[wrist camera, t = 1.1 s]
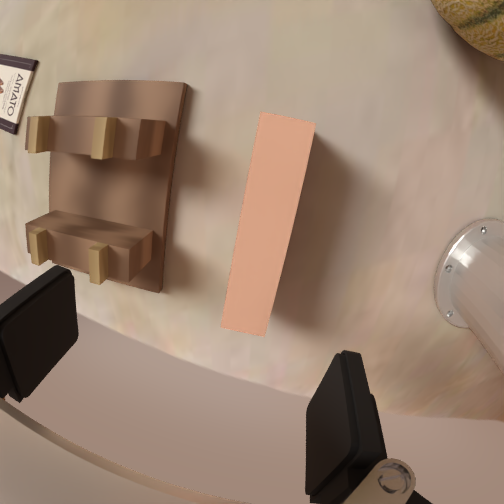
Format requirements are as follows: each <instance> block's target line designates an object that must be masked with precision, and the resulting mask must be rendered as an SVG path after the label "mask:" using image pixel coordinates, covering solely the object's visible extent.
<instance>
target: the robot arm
mask: <svg viewBox="0 0 504 504" xmlns="http://www.w3.org/2000/svg"><path fill="white" fill-rule="evenodd" d="M434 296H435V301H436V305H437V307H438V309H439V311H440V313H441V314H442V316H443V317H444V318H445V319H446V320H447V321H448V322H449V323H450V324H452V325H454V326H457V327H462V328H470V329H471V330H472V331H473V333H474V334H475V335H476V337H477V338H478V339H479V341H480V342H481V343H482V345H483V346H484V348H485V349H486V350H487V352H488V353H489V355H490V356H491V357H492V359H493V360H494V362H495V363H496V365H497V366H498V368H499V369H500V371H501V372H502V374H503V375H504V222H502V221H500V220H498V219H490V218H489V219H482V220H479V221H477V222H474V223H472V224H471V225H469V226H467V227H466V228H464V229H463V230H462V231H461V232H460V233H459V234H458V235H457V236H456V237H455V238H454V239H453V241H452V242H451V243H450V244H449V246H448V247H447V249H446V251H445V253H444V254H443V256H442V258H441V261H440V263H439V266H438V269H437V273H436V276H435V284H434ZM77 339H78V324H77V313H76V300H75V284H74V277H73V275H72V273H71V271H70V270H69V269H66V268H64V267H61V266H59V265H56V266H54V267H52V268H51V269H49V270H48V271H46V272H45V273H43V274H42V275H41V276H39V277H38V278H36V279H35V280H33V281H32V282H31V283H29V284H28V285H26V286H25V287H24V288H22V289H21V290H19V291H18V292H17V293H15V294H14V295H13V296H11V297H10V298H9V299H7V300H6V301H5V302H4V303H2V304H1V305H0V504H250V503H245V502H239V501H235V500H229V499H225V498H221V497H217V496H212V495H208V494H204V493H201V492H197V491H193V490H190V489H186V488H182V487H180V486H176V485H173V484H170V483H167V482H164V481H161V480H158V479H155V478H152V477H149V476H147V475H144V474H141V473H139V472H136V471H134V470H131V469H128V468H126V467H123V466H121V465H119V464H117V463H114V462H112V461H110V460H107V459H105V458H103V457H101V456H99V455H97V454H94V453H92V452H90V451H88V450H86V449H84V448H82V447H80V446H78V445H76V444H74V443H73V442H71V441H68V440H67V439H65V438H63V437H61V436H60V435H58V434H56V433H54V432H53V431H51V430H49V429H48V428H46V427H44V426H42V425H41V424H39V423H38V422H36V421H34V420H33V419H31V418H30V417H28V416H27V415H25V414H24V413H22V412H21V411H19V410H17V409H16V408H15V407H13V406H12V405H10V404H9V403H7V402H6V401H5V396H6V395H7V394H9V396H10V397H12V398H13V399H15V400H16V401H18V402H19V403H20V402H21V401H22V399H23V398H24V397H25V398H26V397H28V396H30V394H31V393H32V392H33V391H34V389H35V388H36V387H37V386H38V385H39V384H40V382H41V381H42V380H43V379H44V378H45V377H46V375H47V374H48V373H49V372H50V371H51V369H52V368H53V367H54V366H55V365H56V364H57V363H58V361H59V360H60V359H61V358H62V357H63V356H64V355H65V354H66V352H67V351H68V350H69V349H70V348H71V347H72V346H73V345H74V343H75V342H76V341H77ZM415 483H416V478H415V476H414V473H413V471H412V469H411V468H410V467H409V466H408V465H407V464H406V463H404V462H402V461H401V460H398V459H393V458H391V459H387V453H386V449H385V443H384V438H383V433H382V429H381V424H380V419H379V415H378V410H377V406H376V401H375V398H374V396H373V395H372V394H370V390H369V386H368V382H367V378H366V373H365V369H364V365H363V361H362V357H361V354H360V353H356V352H351V351H346V350H343V351H342V352H341V354H339V353H337V354H336V355H335V356H334V358H333V360H332V362H331V364H330V366H329V368H328V370H327V372H326V374H325V375H324V377H323V379H322V381H321V383H320V385H319V387H318V388H317V390H316V392H315V394H314V396H313V397H312V399H311V401H310V403H309V405H308V407H307V412H306V481H305V492H306V495H310V503H316V504H432V503H431V502H429V501H428V500H426V499H425V498H424V497H423V496H421V495H420V494H419V493H417V492H416V491H415V490H414V487H415Z"/></svg>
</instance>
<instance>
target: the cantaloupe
mask: <svg viewBox="0 0 504 504" xmlns="http://www.w3.org/2000/svg"><path fill="white" fill-rule="evenodd" d="M431 1H432V3H433V5H434V6H435V8H436V10H437V12H438V13H439V14H440V15H441V17H442V18H443V19H444V20H445V21H446V22H447V23H449V24H450V25H451V26H452V28H453V29H454V31H455V32H456V33H457V34H459V35H460V36H461V37H462V38H463V39H464V40H465V41H467V42H468V43H469V44H470V45H471V46H473V47H474V48H476V49H477V50H479V51H481V52H483V53H485V54H487V55H488V56H491V57H493V58H494V59H498V60H500V61H503V62H504V0H431Z"/></svg>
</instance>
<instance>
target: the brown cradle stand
mask: <svg viewBox="0 0 504 504" xmlns="http://www.w3.org/2000/svg"><path fill="white" fill-rule="evenodd" d="M186 89H187V84H186V83H181V82H166V81H142V80H101V81H78V82H63V83H59V85H58V91H57V97H56V104H55V111H54V116H35V117H28V120H27V130H26V143H25V150H28V153H40V152H45V151H51V153H50V174H49V213H48V214H45V215H43V216H41V217H39V218H37V219H34V220H32V221H30V222H28V223H26V224H25V225H26V238H27V249H28V253H30V254H31V260H32V263H33V264H36V265H38V266H39V265H41V264H42V263H44V262H45V261H47V260H48V259H49V260H52V263H54V264H58V265H61V266H64V267H67V268H70V269H74V270H77V271H80V272H84V273H87V274H90V282H91V283H94V284H98V285H101V284H102V283H103V282H104V281H105V280H106V279H108V280H111V281H115V282H118V283H122V284H126V285H129V286H133V287H137V288H141V289H144V290H148V291H152V292H156V293H159V292H160V291H161V290H162V284H163V268H164V254H165V242H166V231H167V220H168V210H169V201H170V192H171V184H172V176H173V169H174V161H175V154H176V147H177V141H178V134H179V128H180V122H181V116H182V110H183V105H184V99H185V94H186Z"/></svg>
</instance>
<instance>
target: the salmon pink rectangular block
mask: <svg viewBox="0 0 504 504" xmlns="http://www.w3.org/2000/svg"><path fill="white" fill-rule="evenodd" d="M315 126H316V123H312V122H308V121H304V120H299V119H295V118H290V117H285V116H281V115H276V114H270V113H265V112H260V117H259V122H258V127H257V132H256V137H255V142H254V148H253V153H252V158H251V163H250V168H249V173H248V178H247V184H246V189H245V194H244V200H243V205H242V210H241V216H240V221H239V226H238V232H237V237H236V243H235V248H234V254H233V259H232V265H231V270H230V276H229V282H228V287H227V293H226V299H225V305H224V310H223V316H222V322H221V328H226V329H230V330H235V331H239V332H244V333H249V334H253V335H258V336H263V337H265V333H266V329H267V326H268V322H269V318H270V314H271V311H272V307H273V303H274V299H275V295H276V291H277V288H278V284H279V280H280V276H281V272H282V268H283V264H284V260H285V256H286V252H287V248H288V244H289V240H290V236H291V232H292V228H293V223H294V219H295V215H296V211H297V207H298V202H299V198H300V194H301V189H302V185H303V181H304V176H305V172H306V167H307V163H308V158H309V154H310V149H311V145H312V140H313V136H314V131H315Z"/></svg>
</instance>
